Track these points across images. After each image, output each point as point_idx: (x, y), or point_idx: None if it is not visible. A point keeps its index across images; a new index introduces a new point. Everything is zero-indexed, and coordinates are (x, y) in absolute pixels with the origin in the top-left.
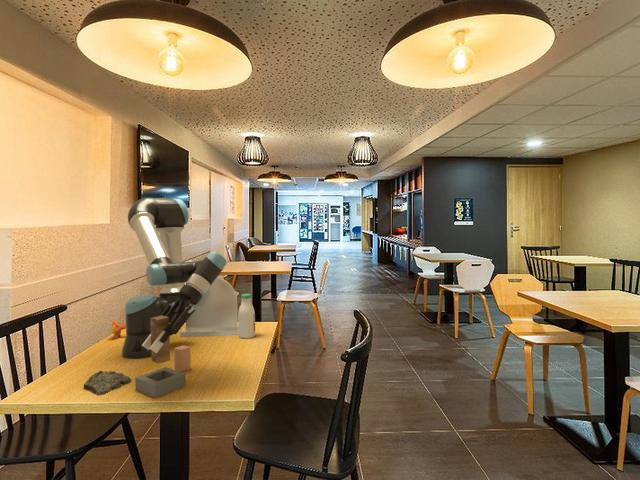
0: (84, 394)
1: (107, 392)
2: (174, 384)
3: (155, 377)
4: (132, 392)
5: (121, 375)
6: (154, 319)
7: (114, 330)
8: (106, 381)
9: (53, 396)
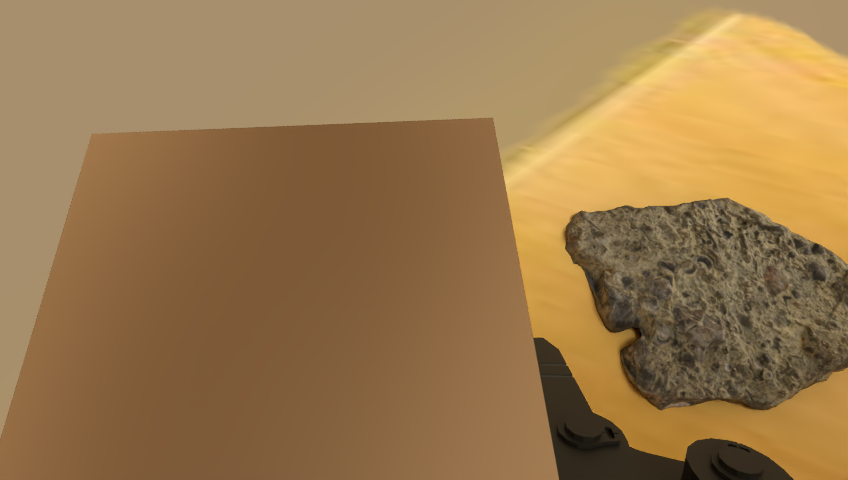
0: (630, 185)
1: (570, 251)
2: None
3: None
4: None
5: (755, 382)
6: (266, 135)
7: None
8: (674, 268)
9: (698, 110)
